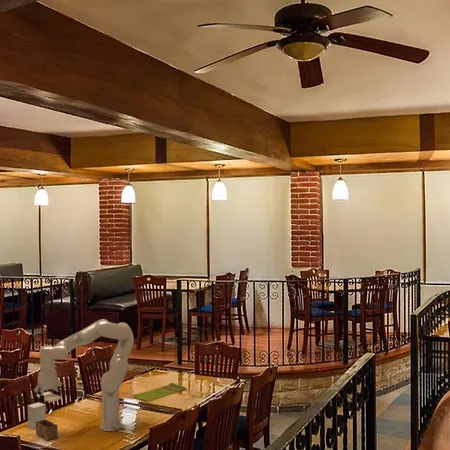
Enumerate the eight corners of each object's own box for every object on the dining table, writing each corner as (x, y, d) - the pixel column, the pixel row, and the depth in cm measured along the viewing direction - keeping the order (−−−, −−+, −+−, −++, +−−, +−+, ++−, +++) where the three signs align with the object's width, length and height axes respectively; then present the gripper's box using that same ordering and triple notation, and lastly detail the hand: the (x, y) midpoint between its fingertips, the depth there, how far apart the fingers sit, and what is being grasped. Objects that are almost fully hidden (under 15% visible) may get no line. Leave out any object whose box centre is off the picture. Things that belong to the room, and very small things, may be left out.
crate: (57, 438, 306) (57, 425, 307) (47, 441, 302) (46, 428, 302) (46, 431, 317) (46, 419, 317) (36, 434, 313) (35, 422, 313)
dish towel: (186, 390, 392) (186, 385, 392) (147, 403, 366) (147, 398, 366) (172, 386, 403) (171, 382, 403) (132, 398, 376) (132, 394, 376)
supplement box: (39, 423, 331) (38, 402, 331) (46, 426, 327) (45, 404, 327) (27, 427, 326) (27, 405, 326) (34, 429, 321) (34, 407, 321)
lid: (61, 400, 308) (60, 396, 308) (48, 403, 303) (48, 399, 303) (48, 395, 319) (48, 391, 319) (36, 398, 314) (36, 394, 314)
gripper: (59, 364, 320) (60, 395, 320) (29, 370, 308) (30, 403, 308) (65, 366, 314) (66, 398, 314) (35, 372, 302) (36, 405, 302)
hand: (48, 400), depth 311 cm, fingers closed on lid, 7 cm apart
